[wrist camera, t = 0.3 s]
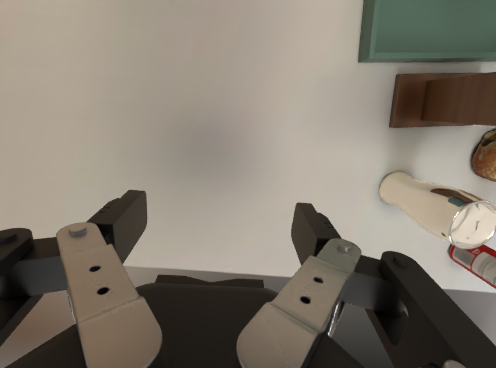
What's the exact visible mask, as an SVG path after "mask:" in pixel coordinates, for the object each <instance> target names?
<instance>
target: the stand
mask: <svg viewBox="0 0 496 368" xmlns="http://www.w3.org/2000/svg"><path fill="white" fill-rule="evenodd" d="M473 124H475V125H489V126H496V72H492V73H438V74H398V75H396V81H395V89H394V96H393V103H392V110H391V117H390V125H389V127H391V128H401V127H432V126H463V125H473Z"/></svg>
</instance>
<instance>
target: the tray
mask: <svg viewBox="0 0 496 368" xmlns="http://www.w3.org/2000/svg"><path fill="white" fill-rule="evenodd" d="M445 61H496V0H364V7H363V18H362V28H361V39H360V49H359V59H358V62H445Z"/></svg>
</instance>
